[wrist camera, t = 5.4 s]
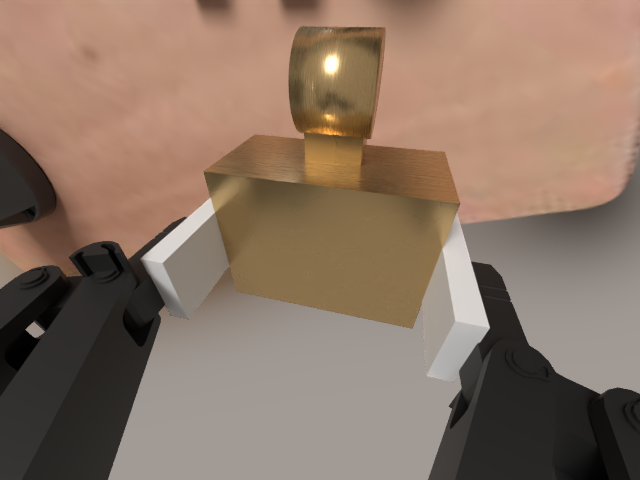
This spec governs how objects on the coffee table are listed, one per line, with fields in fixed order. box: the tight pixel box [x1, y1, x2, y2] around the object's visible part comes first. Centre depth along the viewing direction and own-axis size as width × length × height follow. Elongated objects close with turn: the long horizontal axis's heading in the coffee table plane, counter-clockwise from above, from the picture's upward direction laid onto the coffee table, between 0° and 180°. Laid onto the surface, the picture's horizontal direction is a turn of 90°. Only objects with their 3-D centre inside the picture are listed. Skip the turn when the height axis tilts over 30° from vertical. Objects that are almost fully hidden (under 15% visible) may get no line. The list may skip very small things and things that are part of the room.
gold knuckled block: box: [203, 26, 460, 328], centre depth 10 cm, size 10×8×4 cm
